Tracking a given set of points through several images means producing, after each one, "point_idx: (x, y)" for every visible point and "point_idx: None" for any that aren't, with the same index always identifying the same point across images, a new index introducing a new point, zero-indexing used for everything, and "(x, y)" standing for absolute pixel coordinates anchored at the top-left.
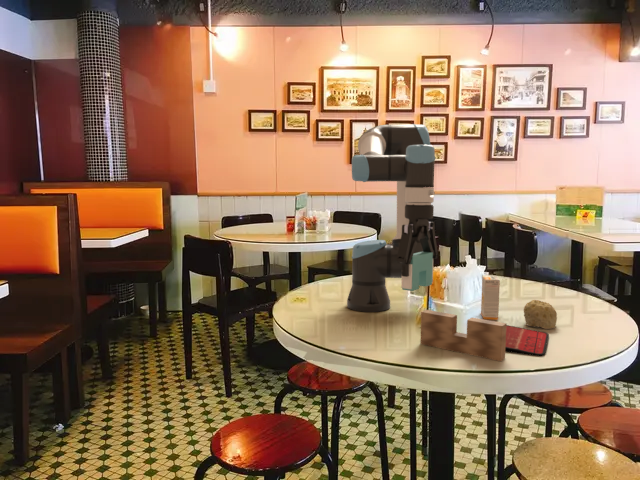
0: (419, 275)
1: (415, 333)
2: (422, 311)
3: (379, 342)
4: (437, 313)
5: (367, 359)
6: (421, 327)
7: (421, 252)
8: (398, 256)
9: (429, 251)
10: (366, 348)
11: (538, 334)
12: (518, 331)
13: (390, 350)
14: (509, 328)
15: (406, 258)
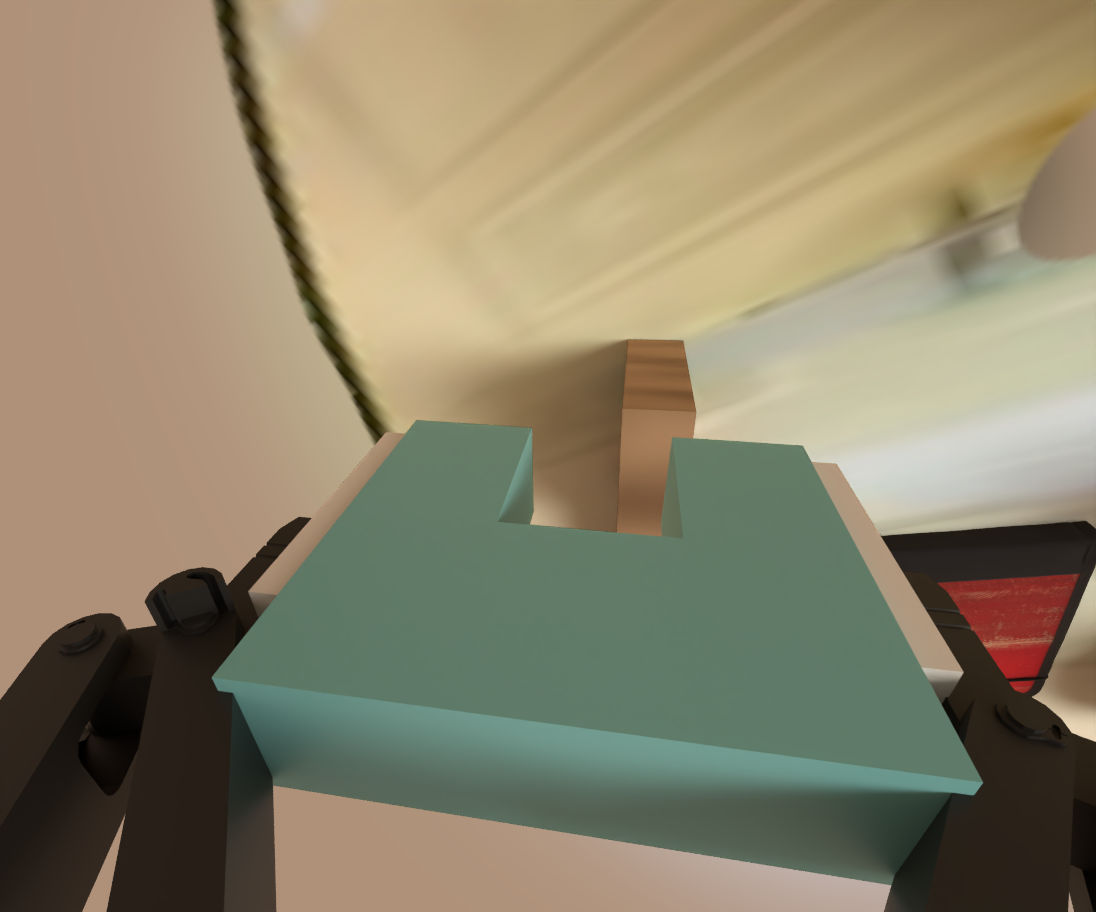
0: (675, 525)
1: (795, 232)
2: (637, 411)
3: (520, 143)
4: (646, 493)
5: (294, 243)
6: (626, 373)
7: (799, 787)
8: (24, 694)
9: (898, 877)
10: (395, 143)
11: None
12: (980, 635)
13: (457, 266)
14: (1016, 606)
15: (123, 748)
